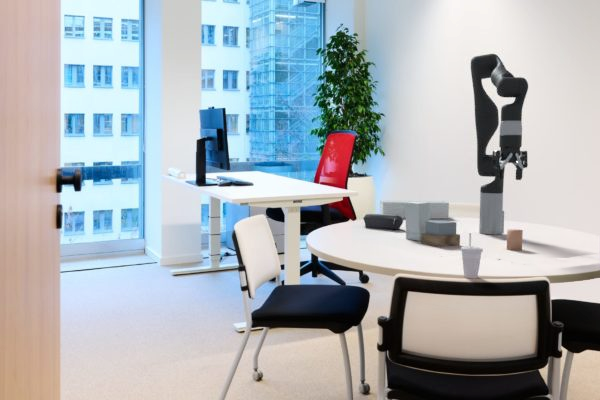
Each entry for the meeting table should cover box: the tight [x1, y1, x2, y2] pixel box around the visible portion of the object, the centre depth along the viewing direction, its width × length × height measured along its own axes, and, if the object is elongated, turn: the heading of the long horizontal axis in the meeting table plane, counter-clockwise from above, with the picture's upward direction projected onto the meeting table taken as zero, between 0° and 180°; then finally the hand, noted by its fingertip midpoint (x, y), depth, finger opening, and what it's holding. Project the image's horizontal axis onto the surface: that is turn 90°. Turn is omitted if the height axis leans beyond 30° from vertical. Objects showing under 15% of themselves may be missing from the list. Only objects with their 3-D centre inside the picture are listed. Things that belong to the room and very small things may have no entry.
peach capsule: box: [506, 228, 524, 252], centre depth 228 cm, size 5×5×7 cm
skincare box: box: [405, 202, 431, 242], centre depth 252 cm, size 8×6×15 cm
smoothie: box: [460, 232, 483, 279], centre depth 192 cm, size 6×6×14 cm
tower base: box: [420, 233, 461, 248], centre depth 239 cm, size 10×10×4 cm
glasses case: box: [363, 213, 404, 231], centre depth 279 cm, size 18×10×8 cm, turn 62°
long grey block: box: [379, 200, 450, 219], centre depth 316 cm, size 32×11×11 cm, turn 90°
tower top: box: [425, 219, 457, 236], centre depth 239 cm, size 8×8×4 cm
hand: (509, 179), depth 228 cm, fingers open, 8 cm apart
